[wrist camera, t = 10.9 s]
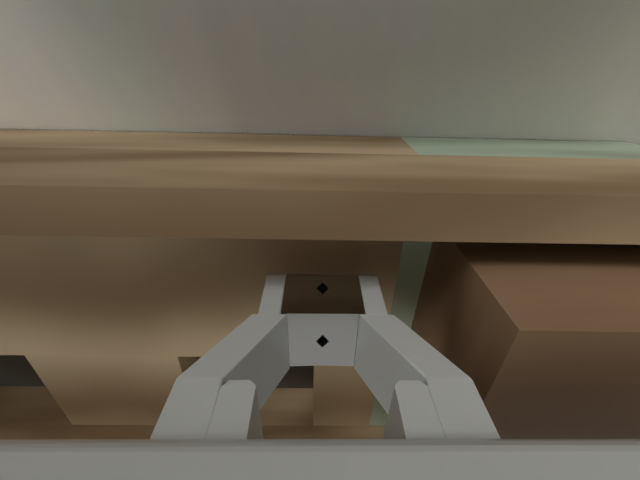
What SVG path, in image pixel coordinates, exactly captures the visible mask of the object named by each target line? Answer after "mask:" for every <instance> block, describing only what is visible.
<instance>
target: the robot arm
mask: <svg viewBox="0 0 640 480" xmlns="http://www.w3.org/2000/svg"><path fill="white" fill-rule="evenodd" d="M319 365H324V366H354V369H355V370H356V371H357V373H358V374H359V375H360V377H361V378H362V380H363V381H364V382H365V384H366V385H367V386H368V388H369V389H370V391H371V392H372V393H373V395H374V396H375V397H376V399H377V400H378V402H379V403H380V404H381V406H382V407H383V408H384V410H385V411H386V413H387V414H388V417H387V422H386V426H385V431H384V435H383V439H263V432H262V425H261V418H260V409H261V408H262V406H263V405H264V404H265V402H266V401H267V399H268V398H269V397H270V395H271V394H272V392H273V391H274V390H275V388H276V387H277V385H278V384H279V383H280V381H281V380H282V378H283V377H284V375H285V374H286V373H287V371H288V370H289V368H290V366H319ZM0 480H640V439H501V438H500V436H499V434H498V432H497V430H496V428H495V426H494V424H493V422H492V419H491V417H490V415H489V413H488V411H487V409H486V407H485V405H484V403H483V401H482V399H481V397H480V395H479V392H478V390H477V388H476V386H475V384H474V382H473V380H472V379H471V378H470V377H469V376H468V375H467V374H465V373H464V372H463V371H462V370H460V369H459V368H458V367H457V366H456V365H454V364H453V363H452V362H451V361H449V360H448V359H447V358H446V357H445V356H443V355H442V354H441V353H440V352H439V351H437V350H436V349H435V348H434V347H432V346H431V345H430V344H429V343H428V342H426V341H425V340H424V339H423V338H421V337H420V336H419V335H418V334H417V333H415V332H414V331H413V330H412V329H410V328H409V327H408V326H407V325H406V324H404V323H403V322H402V321H401V320H400V319H398V318H397V317H396V316H395V315H388V312H387V309H386V305H385V301H384V298H383V294H382V291H381V287H380V284H379V280H378V277H377V275H376V274H357V275H322V274H291V273H287V274H286V273H269V274H268V275H267V277H266V281H265V285H264V290H263V294H262V298H261V303H260V307H259V311H258V314H252V315H251V316H249V317H248V318H247V319H246V320H245V321H244V322H242V323H241V324H240V325H239V326H238V327H236V328H235V329H234V330H233V331H232V332H231V333H229V334H228V335H227V336H226V337H225V338H223V339H222V340H221V341H220V342H219V343H217V344H216V345H215V346H214V347H213V348H212V349H210V350H209V351H208V352H207V353H206V354H204V355H203V356H202V357H201V358H200V359H199V360H197V361H196V362H195V363H194V364H193V365H191V366H190V367H189V368H188V369H187V370H185V371H184V372H183V373H182V374H181V375H180V376H178V377H177V378H176V381H175V383H174V385H173V387H172V390H171V392H170V394H169V396H168V399H167V401H166V403H165V406H164V408H163V410H162V412H161V415H160V417H159V419H158V421H157V424H156V426H155V428H154V430H153V433H152V435H151V437H150V439H71V440H0Z"/></svg>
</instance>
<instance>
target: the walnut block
mask: <svg viewBox="0 0 640 480" xmlns="http://www.w3.org/2000/svg"><path fill="white" fill-rule="evenodd" d="M411 329H412V330H413V331H414V332H415V333H417V334H418V335H419V336H420V337H421V338H423V339H424V340H425V341H426V342H428V343H429V344H430V345H431V346H432V347H434V348H435V349H436V350H437V351H439V352H440V353H441V354H442V355H443V356H445V357H446V358H447V359H448V360H449V361H451V362H452V363H453V364H454V365H456V366H457V367H458V368H459V369H460V370H462V371H463V372H464V373H465V374H467V375H468V376H469V377H470V378H471V379H472V380H473V382H474V384H475V386H476V388H477V390H478V392H479V395H480V397H481V399H482V401H483V403H484V405H485V407H486V409H487V411H488V413H489V415H490V417H491V419H492V422H493V424H494V426H495V428H496V430H497V432H498V434H499V436H500V438H501V439H640V245H628V244H561V243H494V242H432V246H431V250H430V254H429V258H428V262H427V266H426V270H425V274H424V278H423V282H422V286H421V290H420V294H419V298H418V302H417V306H416V310H415V314H414V318H413V322H412V326H411Z"/></svg>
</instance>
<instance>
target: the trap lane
mask: <svg viewBox="0 0 640 480" xmlns="http://www.w3.org/2000/svg"><path fill="white" fill-rule="evenodd" d="M432 242H494V243H561V244H628V245H640V145H638V144H634V143H631V142H611V141H563V140H515V139H467V138H419V137H371V136H323V135H275V134H227V133H178V132H130V131H82V130H34V129H0V440H71V439H150V437H151V435H152V433H153V430H154V428H155V426H156V424H157V421H158V419H159V417H160V415H161V412H162V410H163V408H164V406H165V403H166V401H167V399H168V396H169V394H170V392H171V390H172V387H173V385H174V383H175V381H176V378H177V377H178V376H180V375H181V374H182V373H183V372H184V371H185V370H187V369H188V368H189V367H190V366H191V365H193V364H194V363H195V362H196V361H197V360H199V359H200V358H201V357H202V356H203V355H204V354H206V353H207V352H208V351H209V350H210V349H212V348H213V347H214V346H215V345H216V344H217V343H219V342H220V341H221V340H222V339H223V338H225V337H226V336H227V335H228V334H229V333H231V332H232V331H233V330H234V329H235V328H236V327H238V326H239V325H240V324H241V323H242V322H244V321H245V320H246V319H247V318H248V317H249V316H251V315H252V314H258V311H259V307H260V303H261V298H262V294H263V290H264V285H265V281H266V277H267V275H268V274H269V273H286V274H287V273H291V274H322V275H357V274H376V275H377V277H378V280H379V284H380V287H381V291H382V294H383V298H384V301H385V305H386V309H387V312H388V315H395V316H396V317H397V318H398V319H400V320H401V321H402V322H403V323H404V324H406V325H407V326H408V327H409V328H410V329H411V326H412V322H413V318H414V314H415V310H416V306H417V302H418V298H419V294H420V290H421V286H422V282H423V278H424V274H425V270H426V266H427V262H428V258H429V254H430V250H431V246H432ZM387 417H388V414H387V413H386V411H385V410H384V408H383V407H382V406H381V404H380V403H379V402H378V400H377V399H376V397H375V396H374V395H373V393H372V392H371V391H370V389H369V388H368V386H367V385H366V384H365V382H364V381H363V380H362V378H361V377H360V375H359V374H358V373H357V371H356V370H355V369H354V366H324V365H319V366H290V368H289V370H288V371H287V373H286V374H285V375H284V377H283V378H282V380H281V381H280V383H279V384H278V385H277V387H276V388H275V390H274V391H273V392H272V394H271V395H270V397H269V398H268V399H267V401H266V402H265V404H264V405H263V406H262V408H261V409H260V418H261V425H262V432H263V439H383V435H384V431H385V426H386V422H387Z"/></svg>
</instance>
